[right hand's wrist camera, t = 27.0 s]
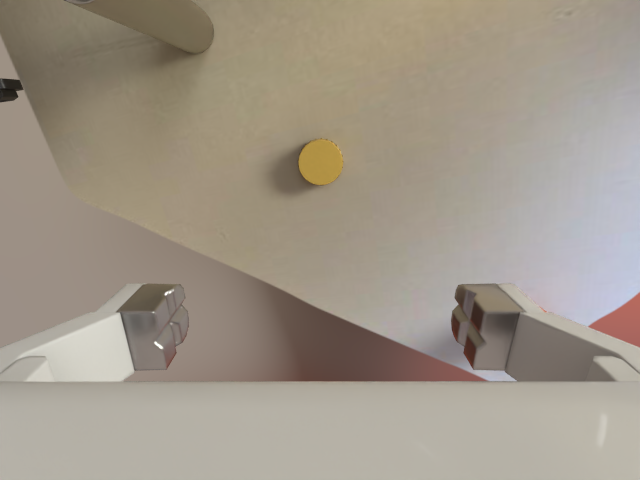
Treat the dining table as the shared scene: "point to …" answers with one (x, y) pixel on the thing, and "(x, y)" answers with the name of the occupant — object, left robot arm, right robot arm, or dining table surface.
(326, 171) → the lid
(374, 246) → the dining table surface
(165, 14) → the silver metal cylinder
